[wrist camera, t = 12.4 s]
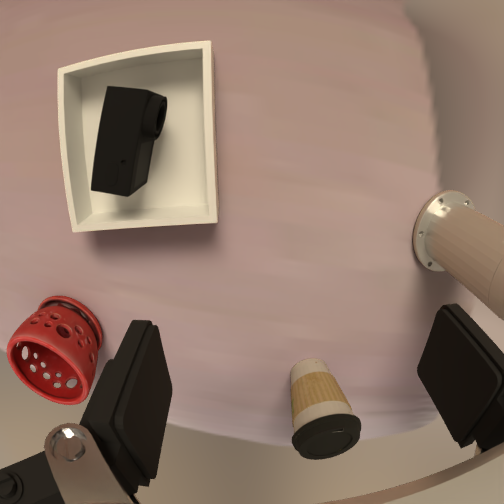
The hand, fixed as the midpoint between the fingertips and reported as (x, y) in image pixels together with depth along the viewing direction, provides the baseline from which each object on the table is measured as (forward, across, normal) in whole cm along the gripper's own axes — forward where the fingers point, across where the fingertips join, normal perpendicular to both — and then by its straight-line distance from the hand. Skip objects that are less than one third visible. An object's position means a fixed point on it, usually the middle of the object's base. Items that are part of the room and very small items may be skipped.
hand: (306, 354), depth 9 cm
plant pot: (+28, +29, +20) cm, 45 cm away
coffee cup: (+29, -8, +30) cm, 43 cm away
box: (+28, +13, -6) cm, 32 cm away
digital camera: (+27, +13, -6) cm, 31 cm away
